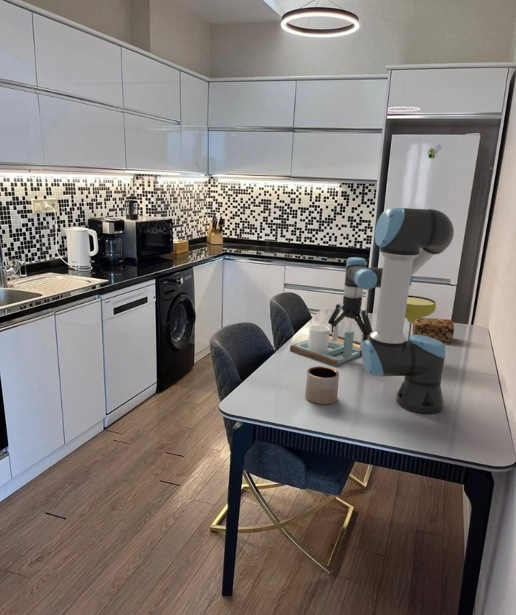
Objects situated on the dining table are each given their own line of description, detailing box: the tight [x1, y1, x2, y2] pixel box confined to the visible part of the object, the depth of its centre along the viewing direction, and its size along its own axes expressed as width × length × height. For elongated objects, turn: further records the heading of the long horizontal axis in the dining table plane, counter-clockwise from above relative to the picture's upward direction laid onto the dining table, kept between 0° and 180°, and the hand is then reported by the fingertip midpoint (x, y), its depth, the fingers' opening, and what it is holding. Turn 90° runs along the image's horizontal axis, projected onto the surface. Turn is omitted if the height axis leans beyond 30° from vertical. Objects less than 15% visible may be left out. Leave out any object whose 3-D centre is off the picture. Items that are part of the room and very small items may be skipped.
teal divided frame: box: [295, 330, 360, 366], centre depth 205 cm, size 17×22×12 cm
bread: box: [412, 317, 455, 343], centre depth 233 cm, size 19×11×10 cm, turn 73°
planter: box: [304, 365, 340, 405], centre depth 161 cm, size 11×11×10 cm
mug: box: [307, 325, 330, 353], centre depth 208 cm, size 9×12×11 cm
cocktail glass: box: [405, 294, 437, 341], centre depth 205 cm, size 18×18×25 cm
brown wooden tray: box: [289, 332, 362, 367], centre depth 210 cm, size 29×24×2 cm
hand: (348, 345), depth 198 cm, fingers open, 13 cm apart
